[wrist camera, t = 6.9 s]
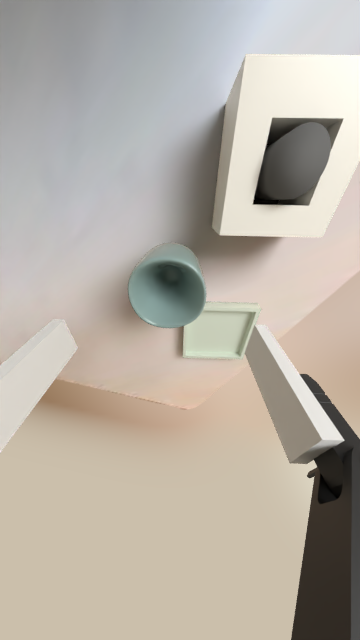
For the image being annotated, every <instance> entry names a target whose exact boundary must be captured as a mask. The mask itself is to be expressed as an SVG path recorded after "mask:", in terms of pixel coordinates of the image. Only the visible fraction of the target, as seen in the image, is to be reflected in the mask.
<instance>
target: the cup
mask: <svg viewBox="0 0 360 640" xmlns="http://www.w3.org/2000/svg"><path fill="white" fill-rule="evenodd" d="M128 295H129V300H130V303H131V305H132V307H133V309H134V311H135V312H136V314H137V315H138V316H139V317H140V318H141V319H142V320H144V321H145V322H147V323H148V324H150V325H153V326H156V327H161V328H177V327H181V326H185V325H187V324H190V323H191V322H193V321H194V320H196V319H197V318H198V317H199V315H200V314H201V312H202V311H203V308H204V305H205V302H206V284H205V279H204V275H203V272H202V268H201V265H200V262H199V260H198V258H197V256H196V255H195V254H194V252H193V251H192V250H191V249H190V248H188V247H187V246H185V245H183V244H180V243H173V242H169V243H163V244H160V245H157V246H155V247H154V248H152V249H151V250H149V251H148V252H147V253H146V254H145V255H144V257H143V258H142V259H141V260H140V261H139V262H138V264H137V265H136V266H135V268H134V270H133V272H132V274H131V276H130V278H129V283H128Z"/></svg>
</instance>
